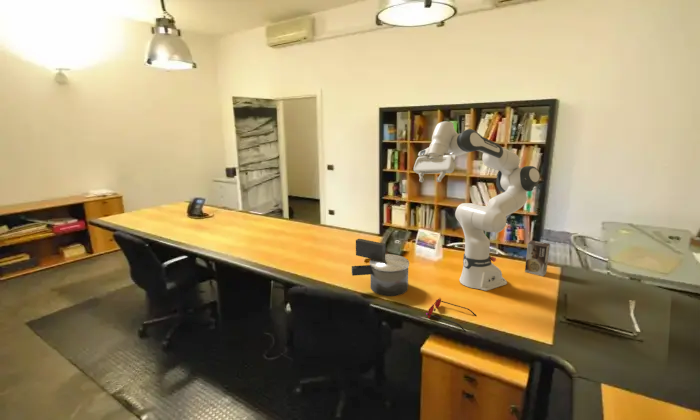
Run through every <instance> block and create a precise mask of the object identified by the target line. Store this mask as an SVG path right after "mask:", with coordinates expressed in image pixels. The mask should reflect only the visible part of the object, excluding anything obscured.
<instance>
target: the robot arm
mask: <svg viewBox="0 0 700 420" xmlns="http://www.w3.org/2000/svg"><path fill="white" fill-rule="evenodd" d="M476 151H477V152H481V153H482V158H481V159H482V163H483V164H484V166H486V167H487V168H489V169H493V170H496V171H498V172H497V176H496V180H495V184H496V185H495V186H496V187H497V189H498V191H499V192H500V193H499V194H497V195H495V196H493V197H491V198H490V199H489V200H488V202H487V205H481V204H477V203H471V202H462V203H460V204H459V205H457V207H456V209H455V213H454V217H455V219H456V220H457V221H458V223H459V224H460V226H461V229H462V232H463V235H464V253H463V259H462V261H463V262H462V263H463V265H462V271H461V275H460V277H459V282H460V284H462V285H463V286H465V287H467V288H471V289H478V290H482V291H485V292H486V291H490V290H493V289H496V288H499V287H502V286H505V285H508V282H507V280H506V279H505V278H504V277H503V273H502V271H501V269H500V268H499V267H498V266H497V265H496V264H494V263H492V262H496V261H497V258H496V257H494V256H491V255H490V249H491V248H490V247H491V246H490V245H491V242H490V239H489V237H488V236H487V235H486V234H485V232H486V233H500V232H502V231H503V230H504V229H505V227H506V226H507V217H508V216H510V215H512V214H514V213H515V212H517V211H518V210H520V209H521V208H523V206H524V205H525V204H526V203H527V201H528V196H527V192H532V191H534V188H535V187H536V186H537V185H538V183H539V182H540V180H541V173H540V170H539V169H538V168H537V167H536V166H533V165H526V166H522V167H520V166H519V165H520V161H521V159H520V157H519V155H518V154H516V153H515V152H513V151H512V150H509V149H507V148H504V147H503V146H502V145H500V144H499V143H497V142H494V141H493V140H491V139H488V138H486V137H485V136H482V135H481V134H480V133H478V131H477V130H475V129H471V128H467V129H465V130H464V131H462V132H460V133H458V132H457V131H456V128H455V126H454V123H453V122H452V121H445V120H444V121H440V122H438V123H437V124H436V125H435V127H434V130H433V133H432V135H431V143H429V147H427V148H425V149H423V150H420V151H419V152H418V154H417V156H418V157H417V158H416V160H415V163H414V165H413V172H414V173H415V174H418V177H419V180H418V181H419V183H424V182H425V178H424V177H423V176H425V175H428V174H429V175H430V174H433V175H435V174H439V176H437V177H436V180H435V181H436V182H437V183H441V182H442V180H443V178H444V177H445V176H446V174H452V173H453V172H454V171H455V166H456V159H457V157H459V156H460V157H461V156H463V155H465V154H468V153H472V152H476Z"/></svg>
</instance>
